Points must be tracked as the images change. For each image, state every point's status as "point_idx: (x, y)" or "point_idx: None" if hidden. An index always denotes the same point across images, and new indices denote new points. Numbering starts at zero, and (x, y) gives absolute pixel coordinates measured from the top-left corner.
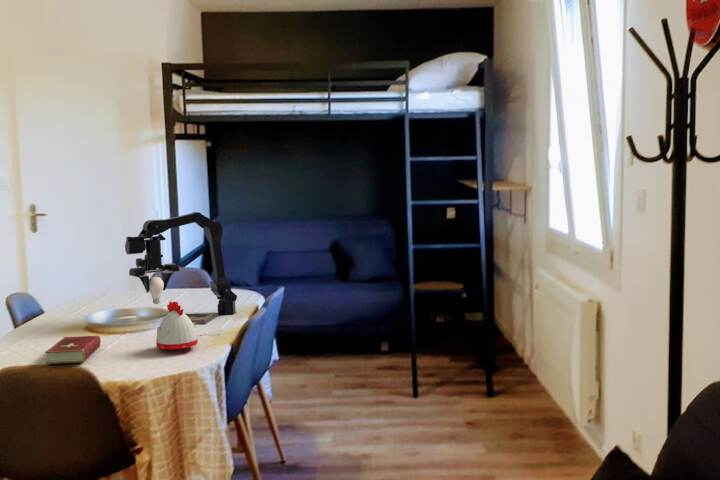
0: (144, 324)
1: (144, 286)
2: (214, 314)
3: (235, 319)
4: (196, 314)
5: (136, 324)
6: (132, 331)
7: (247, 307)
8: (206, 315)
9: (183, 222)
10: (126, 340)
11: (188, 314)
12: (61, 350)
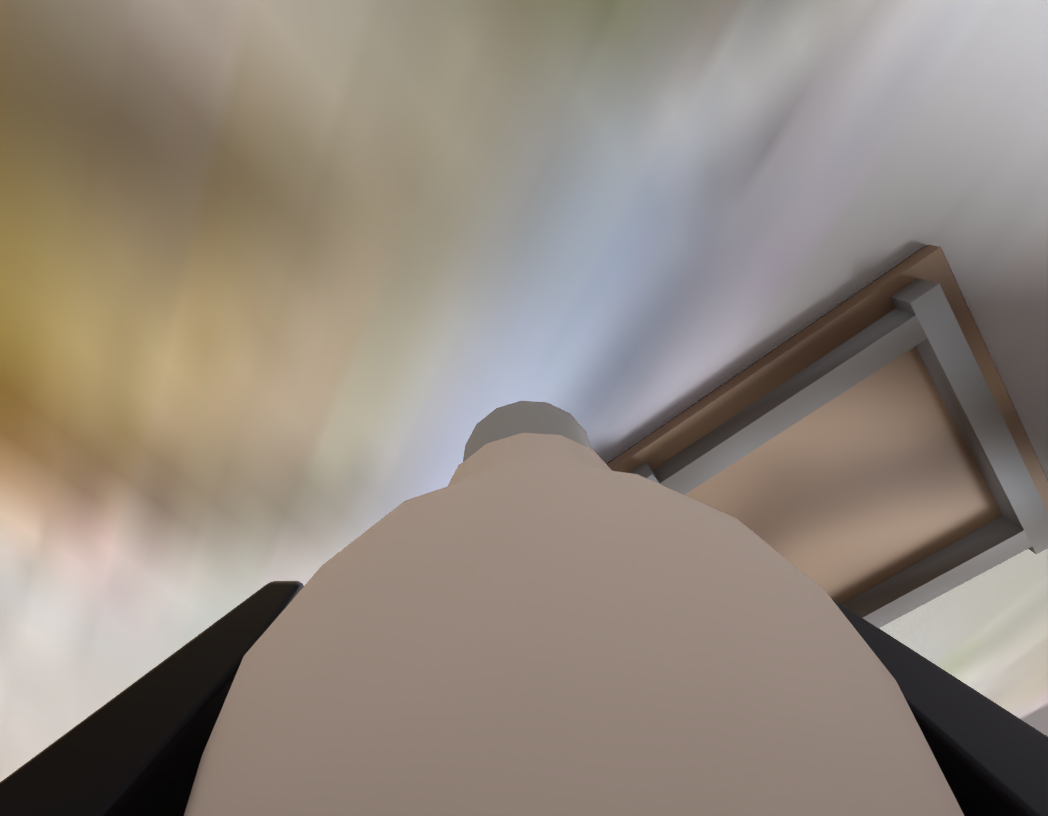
0: (393, 263)
1: (85, 761)
2: (1038, 545)
3: (1015, 683)
4: (966, 418)
5: (318, 179)
6: (176, 481)
7: None
8: (996, 491)
9: None
10: (61, 711)
11: (930, 347)
12: None
